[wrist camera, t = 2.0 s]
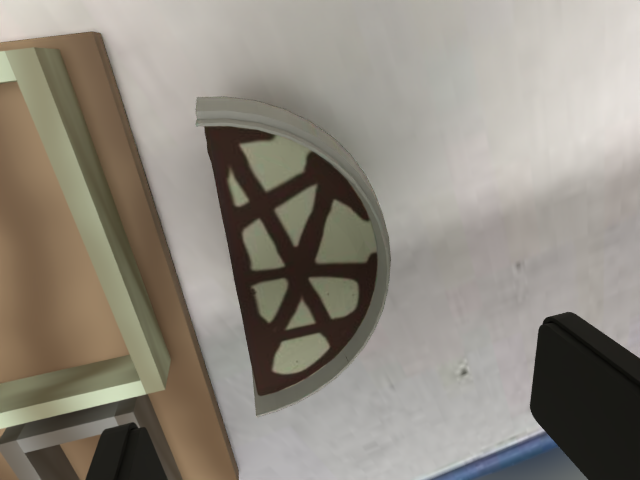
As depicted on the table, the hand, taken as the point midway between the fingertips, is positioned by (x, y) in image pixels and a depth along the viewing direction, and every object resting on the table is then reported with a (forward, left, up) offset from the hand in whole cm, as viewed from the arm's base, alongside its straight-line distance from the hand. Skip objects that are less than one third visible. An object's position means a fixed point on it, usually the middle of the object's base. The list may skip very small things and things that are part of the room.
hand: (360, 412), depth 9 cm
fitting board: (+14, +5, -15) cm, 21 cm away
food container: (0, -1, -16) cm, 16 cm away
